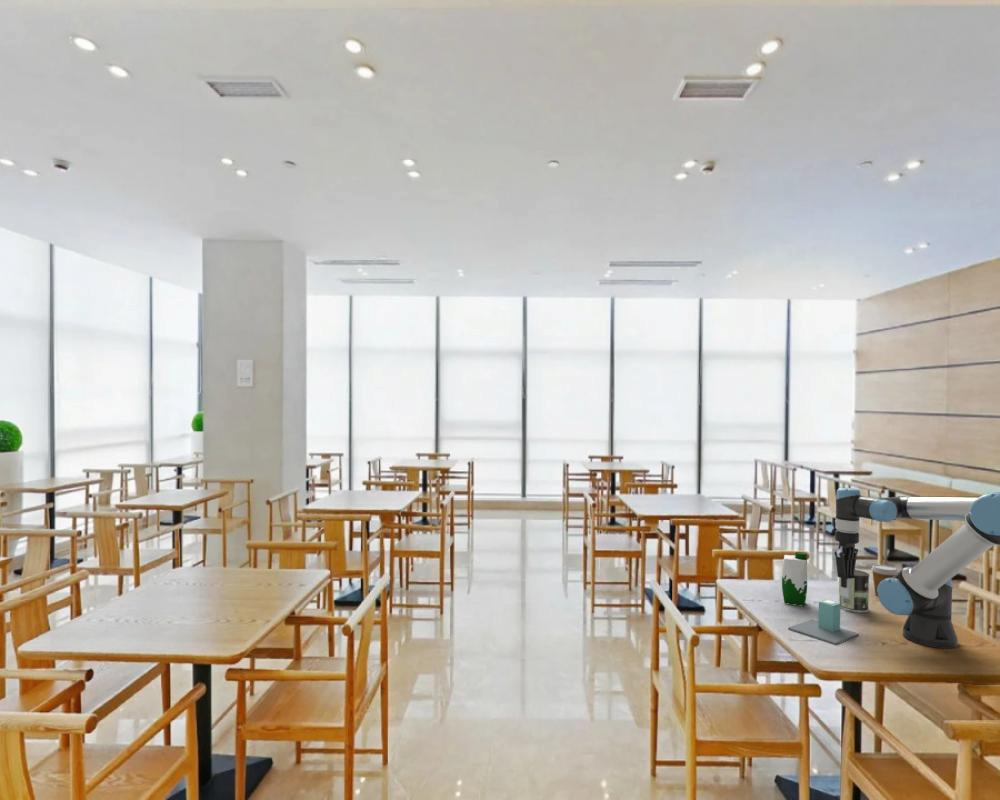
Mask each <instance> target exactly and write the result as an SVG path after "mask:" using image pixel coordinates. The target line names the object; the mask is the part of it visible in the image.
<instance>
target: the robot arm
mask: <svg viewBox="0 0 1000 800" xmlns="http://www.w3.org/2000/svg"><path fill="white" fill-rule="evenodd" d="M860 518H863V519H868V520H873V521H877V522H880V523H881V522H883V523H891V522H893V520H896V519H906V520H907V519H908V520H937V521H956V522H965V523H964V524H963V525H962V526H961V527H959V528H958V529H957V530H956V531H954V532H953V533H952V534H951V535H950V536H949V537H947V538H946V539H945V540H944V541H943V542H941V543H940V544H939V545H938V546H937V547H936V548H934V549H933V550H932V551H931V552H930V553H928V554H927V555H926V556H925V557H924V558H923V559H921V560H920V561H919V562H918V563H917V564H915V565H914V566H913V567H912V566H905V567H904V568H902V569H901V570H900V571H898V573H897V574H896V575H895V576H894V577H892V578H886V579H884V580H882V581H881V582H880V583H879V585H878V588H877V592H878V596H877V598H878V600H879V602H880V604H881V606H882V607H883V608H884V609H886V611H888V612H889V613H891V614H893V615H896V616H907V618H906V620H905V622H904V625H903V627H902V636H903V637H904V638H906V639H907V640H909V641H911V640H912V641H911V642H913V641H914V642H913V643H917V644H919V643H920V645H923V646H927V647H933V648H940V649H954V648H957V647H958V645H959V643H958V642H959V640H958V636H957V633H956V629H955V627H954V625H953V622H952V613H953V612H952V609H953V607H952V605H953V604H952V603H953V589H954V587H953V583H952V579H953V578H954V577H955V576H956V575H958V574H959V573H961V572H962V570H964V569H965V568H967V567H968V566H969V565H970V564H971V563H973V562H974V561H976V560H977V559H978V558H979V557H981V556H982V555H983V554H984V553H986V552H987V551H988V550H990V549H991V548H993V546H996V547H997V546H999V547H1000V492H999V491H997V492H991V493H987V494H983V495H981V496H979V497H954V496H952V497H949V496H946V497H945V496H942V497H941V496H940V497H939V496H938V497H937V496H927V497H926V496H906V495H905V496H891V497H888V496H887V497H869V496H864V495H861V491H860V489H857V488H854V487H839V488H838V489H836V497H835V520H834V523H835V531H834V539H835V540H834V541H836V542H838V545H837V546H838V547H837V548H838V551H834V557H835V563H836V564H835V565H836V573H837V574H836V575H837V578H839V577H840V578H841V591H840V595H841V596H845V597H850V584H851V579H850V578H852V579H853V578H854V577H853V576H854V572H855V570H856V564H857V558H858V557H857V556H858V552H859V549H858V548H857V547H855V546H856V545H855V544H859V543H860V533H859V532H860Z"/></svg>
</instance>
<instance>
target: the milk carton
mask: <svg viewBox="0 0 1000 800" xmlns="http://www.w3.org/2000/svg"><path fill="white" fill-rule="evenodd" d="M807 557H808V555H807V553H806V552H803V551H795V553H794V555H793V554H791V555H790V554H784V555H783V562H782V568H781V588H782V589H781V591H782V597H783V602H784V604H785V603H789V604H788V605H791V604H796V605H795V606H798V605H802V606H801V607H805V605H806V600H807V594H808V566H807V565H808V558H807Z"/></svg>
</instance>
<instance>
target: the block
mask: <svg viewBox="0 0 1000 800" xmlns="http://www.w3.org/2000/svg"><path fill="white" fill-rule="evenodd" d="M840 605H841V603H839V602H838V601H837V602H836V601H834V600H830V599H824V600H819V601H818V618H817V619H818V620H817V621H818V627H819V628H822V629H825V630H828V631H831V632H834V631H837V630H839V629H840V628H841V608H840Z"/></svg>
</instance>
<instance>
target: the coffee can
mask: <svg viewBox="0 0 1000 800" xmlns="http://www.w3.org/2000/svg"><path fill="white" fill-rule="evenodd" d="M853 577H854V578H853V579H852V578H850V579H851V584H850V597H845V596H841V595H840V591H841V578H840V577H838V603H841V605H840V609H841V610H844V609H845V611H848V612H852V613H860V614H861V613H868V612H869V611H870V609H869V592H870V591H869V587H870V586H869V585H870V582H869V581H870V578H869V577H870V574H869V573H868V572H865V571H863V570H858V569H855V572H854V576H853Z"/></svg>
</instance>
